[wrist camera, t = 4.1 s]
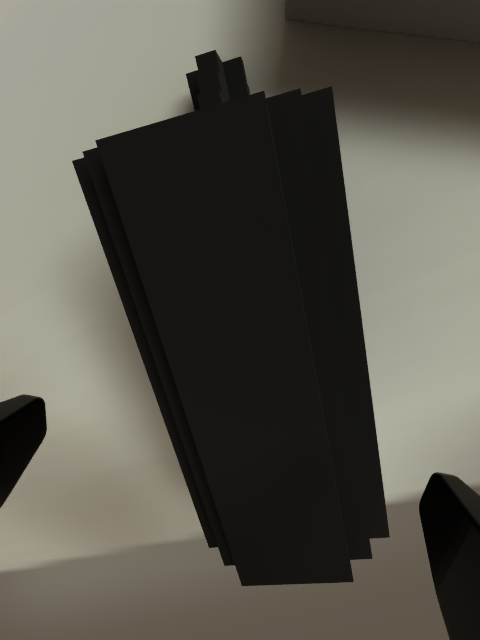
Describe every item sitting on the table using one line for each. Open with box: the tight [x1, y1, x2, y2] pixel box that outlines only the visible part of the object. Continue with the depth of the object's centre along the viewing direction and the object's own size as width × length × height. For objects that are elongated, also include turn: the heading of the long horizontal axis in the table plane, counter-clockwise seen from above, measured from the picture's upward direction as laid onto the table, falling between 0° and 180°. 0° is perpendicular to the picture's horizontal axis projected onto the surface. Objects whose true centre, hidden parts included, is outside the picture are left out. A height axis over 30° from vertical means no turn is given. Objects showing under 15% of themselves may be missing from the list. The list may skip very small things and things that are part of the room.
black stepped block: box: [72, 50, 389, 586], centre depth 14 cm, size 7×18×10 cm, turn 13°
